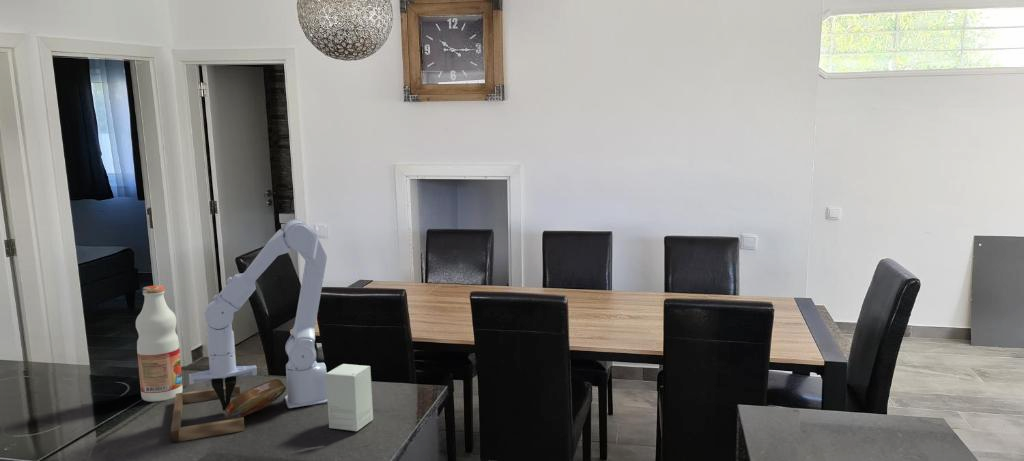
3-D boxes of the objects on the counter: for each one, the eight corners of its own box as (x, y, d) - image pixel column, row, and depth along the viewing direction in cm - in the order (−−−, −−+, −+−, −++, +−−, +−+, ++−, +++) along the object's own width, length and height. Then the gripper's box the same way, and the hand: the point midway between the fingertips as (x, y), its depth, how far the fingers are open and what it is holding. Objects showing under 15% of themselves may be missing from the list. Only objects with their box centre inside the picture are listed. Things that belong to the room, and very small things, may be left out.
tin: (223, 425, 157) (241, 405, 153) (216, 413, 157) (234, 394, 154) (276, 402, 170) (293, 384, 166) (269, 391, 171) (286, 373, 167)
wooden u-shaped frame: (240, 394, 176) (239, 384, 176) (244, 430, 153) (243, 419, 153) (176, 403, 171) (175, 393, 170) (171, 442, 148) (170, 431, 147)
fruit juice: (136, 396, 176) (126, 287, 173) (175, 386, 183) (166, 281, 179) (148, 405, 169) (138, 292, 166) (188, 395, 176) (180, 286, 173)
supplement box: (374, 419, 158) (371, 365, 157) (356, 432, 151) (354, 376, 150) (346, 415, 161) (343, 362, 159) (327, 428, 154) (324, 372, 152)
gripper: (254, 343, 168) (257, 398, 170) (187, 352, 163) (192, 408, 164) (255, 351, 162) (259, 407, 163) (186, 360, 156) (191, 418, 158)
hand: (225, 408), depth 163 cm, fingers closed
